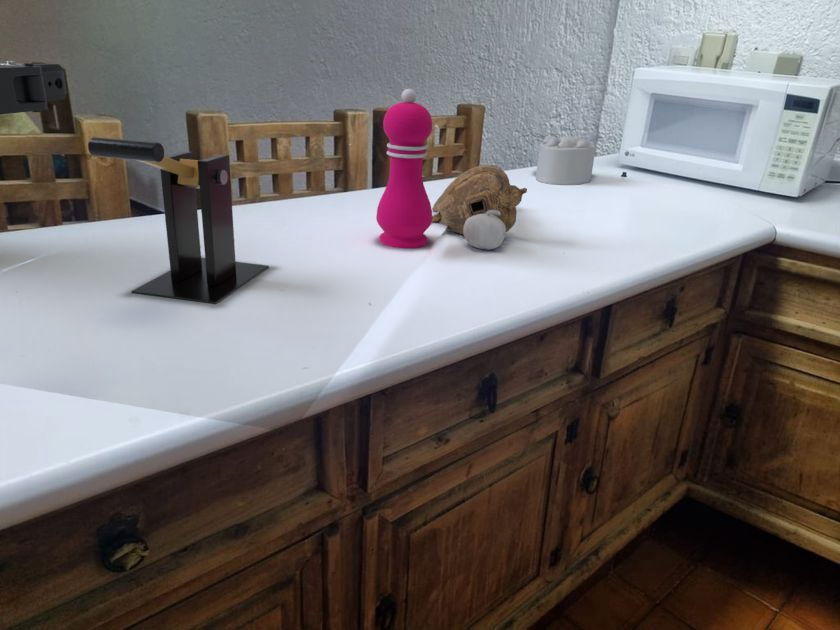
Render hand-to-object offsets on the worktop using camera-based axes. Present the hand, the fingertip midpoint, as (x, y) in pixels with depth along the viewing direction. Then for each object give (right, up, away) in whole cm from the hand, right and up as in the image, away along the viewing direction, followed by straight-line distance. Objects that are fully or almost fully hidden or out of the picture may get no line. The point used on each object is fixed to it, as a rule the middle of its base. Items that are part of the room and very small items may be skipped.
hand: (5, 77), depth 44 cm
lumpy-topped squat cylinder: (+58, +13, +96) cm, 113 cm away
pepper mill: (+26, -8, +42) cm, 50 cm away
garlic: (+37, -7, +45) cm, 58 cm away
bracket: (+5, -13, +25) cm, 29 cm away
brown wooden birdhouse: (+38, -1, +59) cm, 70 cm away
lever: (+5, -4, +15) cm, 16 cm away
